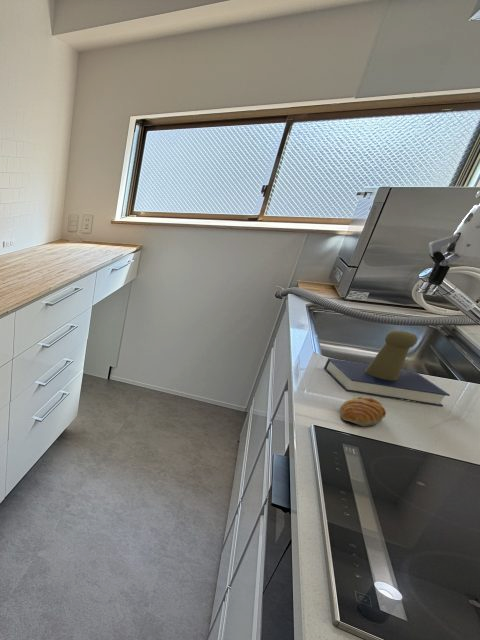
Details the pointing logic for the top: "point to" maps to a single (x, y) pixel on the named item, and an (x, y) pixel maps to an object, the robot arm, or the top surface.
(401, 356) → the cork
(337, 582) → the top surface
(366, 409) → the pastry
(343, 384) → the book
